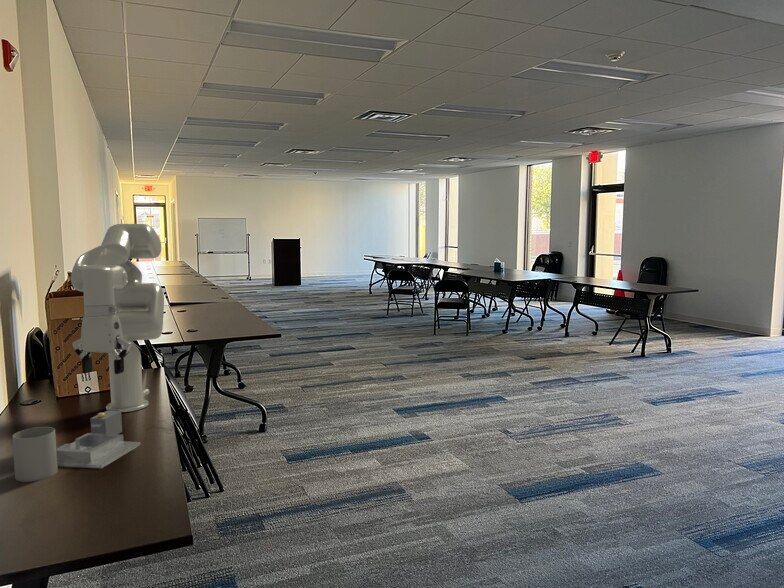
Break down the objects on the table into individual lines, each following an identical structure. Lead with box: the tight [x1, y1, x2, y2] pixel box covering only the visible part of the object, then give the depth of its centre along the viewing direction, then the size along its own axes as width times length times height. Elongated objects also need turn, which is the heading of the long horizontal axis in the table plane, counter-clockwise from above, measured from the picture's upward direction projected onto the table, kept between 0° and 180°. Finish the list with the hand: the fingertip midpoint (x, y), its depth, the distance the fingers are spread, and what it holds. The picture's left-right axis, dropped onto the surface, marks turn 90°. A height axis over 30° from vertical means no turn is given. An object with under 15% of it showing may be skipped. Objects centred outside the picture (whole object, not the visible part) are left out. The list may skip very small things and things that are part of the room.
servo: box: [89, 410, 123, 435], centre depth 160 cm, size 9×4×7 cm, turn 171°
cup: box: [11, 426, 59, 482], centre depth 133 cm, size 8×8×10 cm
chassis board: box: [56, 432, 142, 469], centre depth 146 cm, size 16×18×3 cm
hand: (103, 372), depth 159 cm, fingers open, 9 cm apart
